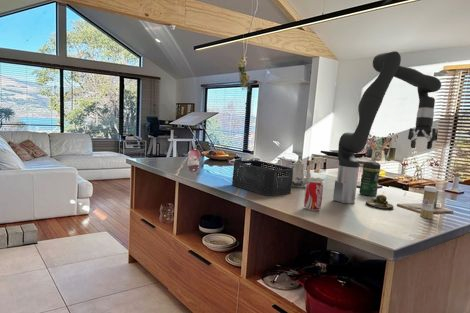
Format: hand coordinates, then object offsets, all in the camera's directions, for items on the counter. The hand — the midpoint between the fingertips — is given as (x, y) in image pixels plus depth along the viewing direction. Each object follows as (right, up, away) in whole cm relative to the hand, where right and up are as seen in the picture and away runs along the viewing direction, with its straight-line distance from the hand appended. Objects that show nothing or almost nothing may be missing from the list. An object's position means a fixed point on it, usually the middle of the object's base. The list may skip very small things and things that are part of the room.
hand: (420, 148), depth 169 cm
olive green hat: (-29, -28, -16) cm, 43 cm away
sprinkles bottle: (-15, -30, -30) cm, 45 cm away
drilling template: (-6, -29, -14) cm, 33 cm away
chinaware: (-58, -22, +24) cm, 66 cm away
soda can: (-64, -26, -32) cm, 76 cm away
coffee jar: (-22, -26, +12) cm, 36 cm away
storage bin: (-83, -22, +2) cm, 86 cm away
